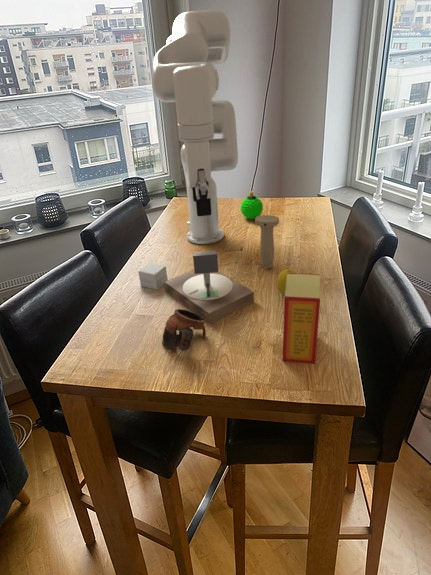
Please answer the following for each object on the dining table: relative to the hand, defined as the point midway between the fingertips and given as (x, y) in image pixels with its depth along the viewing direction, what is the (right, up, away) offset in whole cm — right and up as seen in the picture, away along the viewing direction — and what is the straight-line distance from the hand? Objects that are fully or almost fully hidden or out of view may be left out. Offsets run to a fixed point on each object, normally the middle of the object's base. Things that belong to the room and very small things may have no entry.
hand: (202, 207), depth 99 cm
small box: (-14, -18, +20) cm, 30 cm away
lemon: (+22, -21, +10) cm, 32 cm away
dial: (+1, -18, +10) cm, 21 cm away
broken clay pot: (-4, -31, -4) cm, 32 cm away
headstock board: (+1, -21, +12) cm, 24 cm away
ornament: (+16, +7, +56) cm, 59 cm away
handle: (+18, -13, +24) cm, 33 cm away
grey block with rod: (+1, -19, +8) cm, 21 cm away
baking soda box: (+21, -32, -8) cm, 39 cm away
